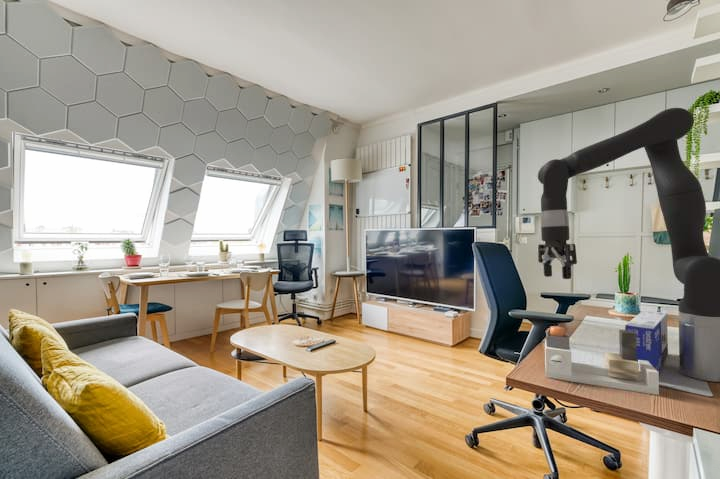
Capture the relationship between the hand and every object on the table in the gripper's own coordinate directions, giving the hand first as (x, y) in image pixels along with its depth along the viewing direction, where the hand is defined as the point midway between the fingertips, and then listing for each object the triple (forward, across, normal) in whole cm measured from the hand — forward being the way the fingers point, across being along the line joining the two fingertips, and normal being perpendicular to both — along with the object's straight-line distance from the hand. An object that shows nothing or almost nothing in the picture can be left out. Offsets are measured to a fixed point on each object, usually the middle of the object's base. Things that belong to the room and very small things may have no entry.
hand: (557, 277), depth 104 cm
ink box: (+27, -4, -26) cm, 38 cm away
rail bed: (+26, -12, -1) cm, 29 cm away
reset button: (+16, -8, +6) cm, 19 cm away
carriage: (+25, -15, -6) cm, 30 cm away
